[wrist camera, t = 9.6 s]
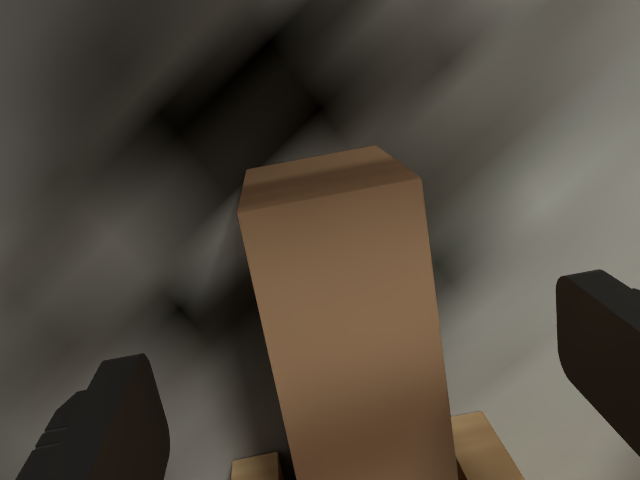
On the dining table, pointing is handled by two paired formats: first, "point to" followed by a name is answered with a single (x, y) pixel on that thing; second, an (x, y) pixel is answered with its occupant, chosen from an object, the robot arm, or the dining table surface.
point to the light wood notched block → (470, 449)
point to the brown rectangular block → (350, 315)
